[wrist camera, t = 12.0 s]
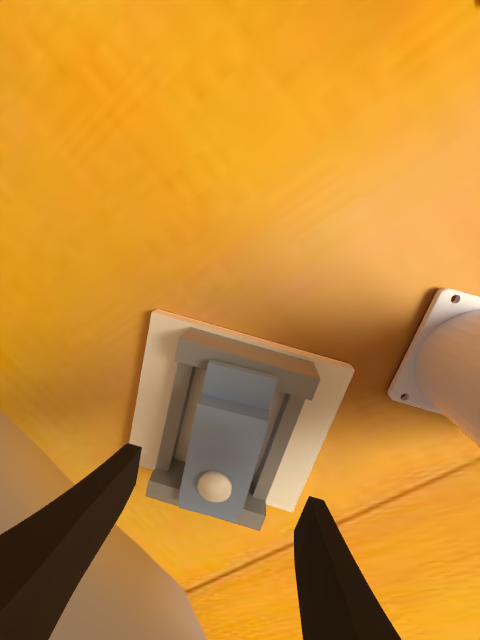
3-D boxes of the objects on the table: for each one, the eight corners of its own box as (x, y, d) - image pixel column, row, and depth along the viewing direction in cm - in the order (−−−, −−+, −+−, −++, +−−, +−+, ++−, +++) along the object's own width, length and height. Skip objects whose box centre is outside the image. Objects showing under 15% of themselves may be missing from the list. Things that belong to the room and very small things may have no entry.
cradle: (350, 364, 17) (369, 388, 14) (291, 500, 21) (296, 544, 18) (157, 308, 18) (134, 320, 14) (132, 452, 21) (108, 487, 18)
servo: (275, 358, 17) (279, 392, 13) (240, 483, 20) (233, 544, 16) (217, 344, 17) (202, 373, 13) (191, 470, 20) (171, 527, 16)
